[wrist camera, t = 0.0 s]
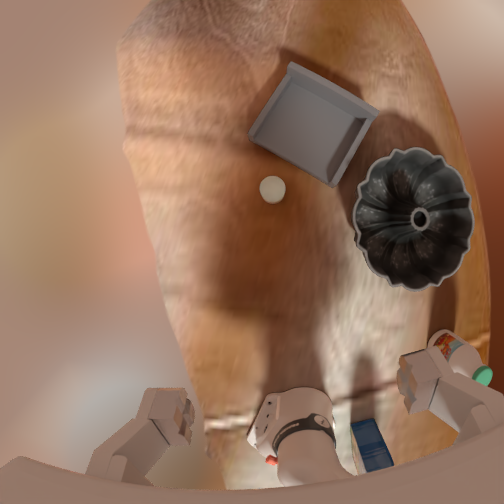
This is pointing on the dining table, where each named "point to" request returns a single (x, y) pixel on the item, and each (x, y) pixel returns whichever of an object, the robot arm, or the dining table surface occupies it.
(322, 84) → the grey open tray
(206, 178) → the dining table surface
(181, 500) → the robot arm
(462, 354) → the milk bottle
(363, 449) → the blue food package
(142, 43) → the dining table surface
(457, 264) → the bundt pan
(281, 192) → the dome-topped cream cylinder
